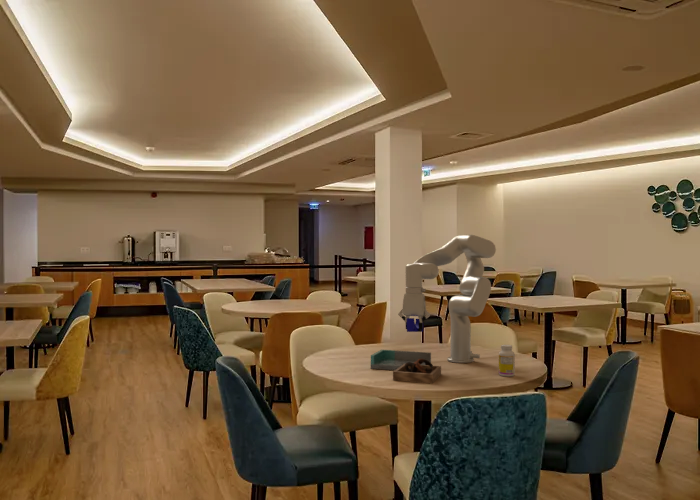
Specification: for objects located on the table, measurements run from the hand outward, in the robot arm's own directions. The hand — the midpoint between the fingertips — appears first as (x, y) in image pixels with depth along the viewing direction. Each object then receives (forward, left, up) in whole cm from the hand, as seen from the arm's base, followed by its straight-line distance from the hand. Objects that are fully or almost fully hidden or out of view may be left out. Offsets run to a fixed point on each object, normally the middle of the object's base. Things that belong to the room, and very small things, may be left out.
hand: (414, 330), depth 277 cm
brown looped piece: (-6, +16, -17) cm, 24 cm away
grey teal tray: (+6, 0, -17) cm, 18 cm away
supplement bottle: (-41, +2, -17) cm, 44 cm away
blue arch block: (0, 0, -1) cm, 1 cm away
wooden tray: (-6, +19, -17) cm, 26 cm away
